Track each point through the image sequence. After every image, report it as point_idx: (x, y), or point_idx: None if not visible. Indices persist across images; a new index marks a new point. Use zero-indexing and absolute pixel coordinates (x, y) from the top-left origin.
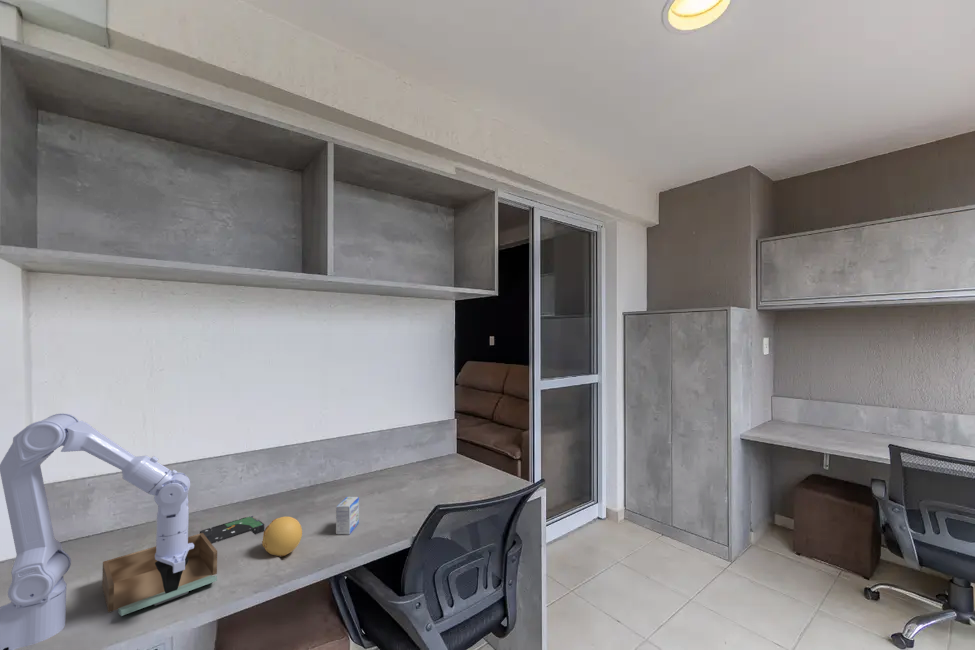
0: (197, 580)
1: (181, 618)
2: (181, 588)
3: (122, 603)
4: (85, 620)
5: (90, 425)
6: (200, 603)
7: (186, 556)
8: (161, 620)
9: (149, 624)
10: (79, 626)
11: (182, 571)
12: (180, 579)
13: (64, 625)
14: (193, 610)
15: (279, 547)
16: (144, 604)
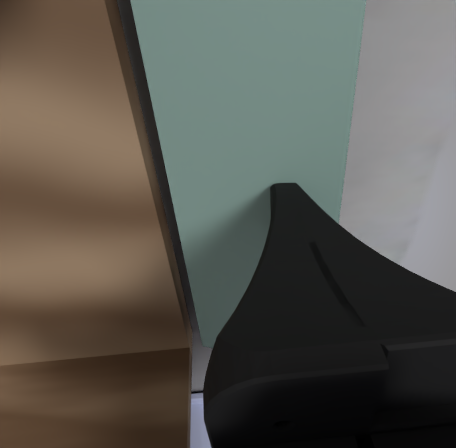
0: (170, 16)
1: (446, 123)
2: (324, 165)
3: (148, 330)
4: None
5: None
6: (385, 5)
7: (394, 356)
8: (371, 198)
9: (358, 234)
10: None
11: (391, 261)
12: (17, 116)
13: (193, 419)
14: (428, 57)
15: None
16: None
